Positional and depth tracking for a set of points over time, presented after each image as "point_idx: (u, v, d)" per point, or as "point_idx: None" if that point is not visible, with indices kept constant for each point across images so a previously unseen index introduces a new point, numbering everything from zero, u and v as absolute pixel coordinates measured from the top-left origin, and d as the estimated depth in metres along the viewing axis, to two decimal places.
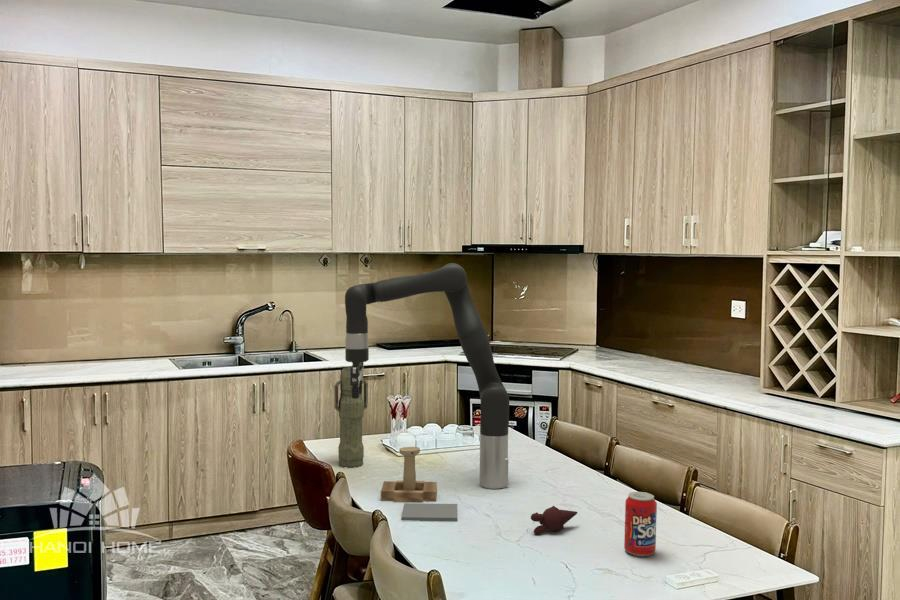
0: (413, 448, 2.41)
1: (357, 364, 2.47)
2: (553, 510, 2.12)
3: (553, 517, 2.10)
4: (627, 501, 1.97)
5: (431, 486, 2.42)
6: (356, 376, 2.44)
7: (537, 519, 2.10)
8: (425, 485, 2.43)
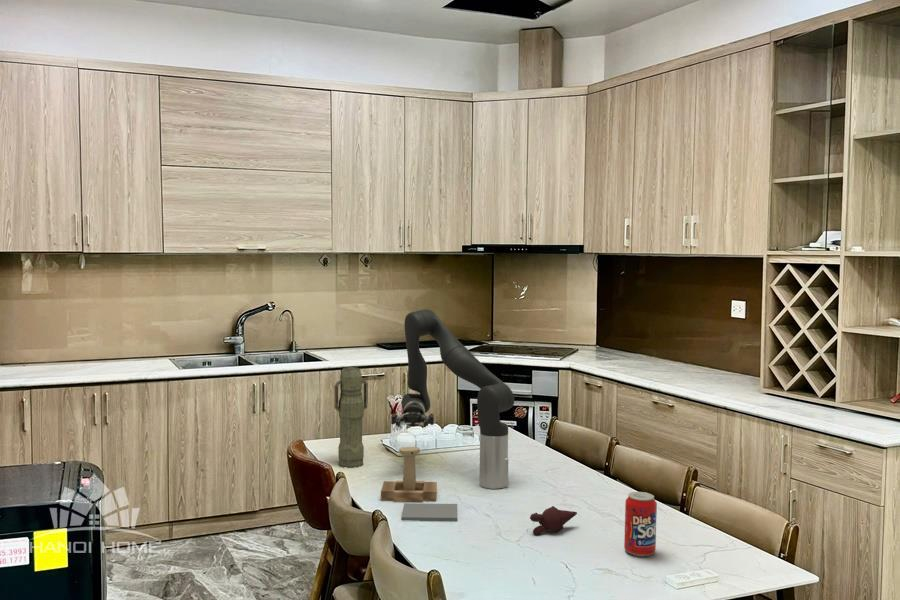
0: (413, 448, 2.41)
1: None
2: (552, 510, 2.12)
3: (552, 518, 2.10)
4: (627, 501, 1.97)
5: (431, 486, 2.42)
6: None
7: (536, 519, 2.10)
8: (425, 485, 2.43)
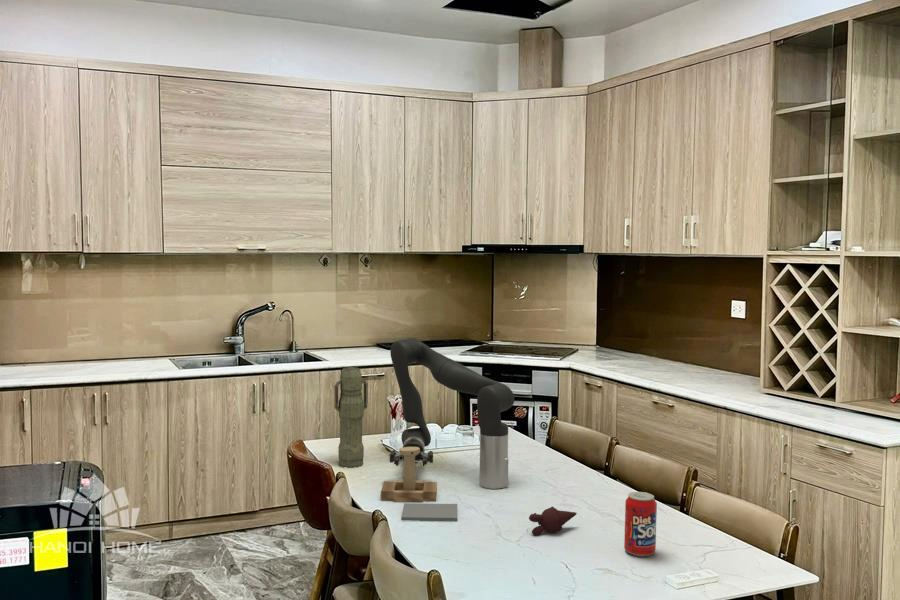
0: (413, 448, 2.41)
1: None
2: (552, 511, 2.11)
3: (551, 518, 2.10)
4: (627, 501, 1.97)
5: (431, 486, 2.42)
6: None
7: (535, 520, 2.10)
8: (425, 485, 2.43)
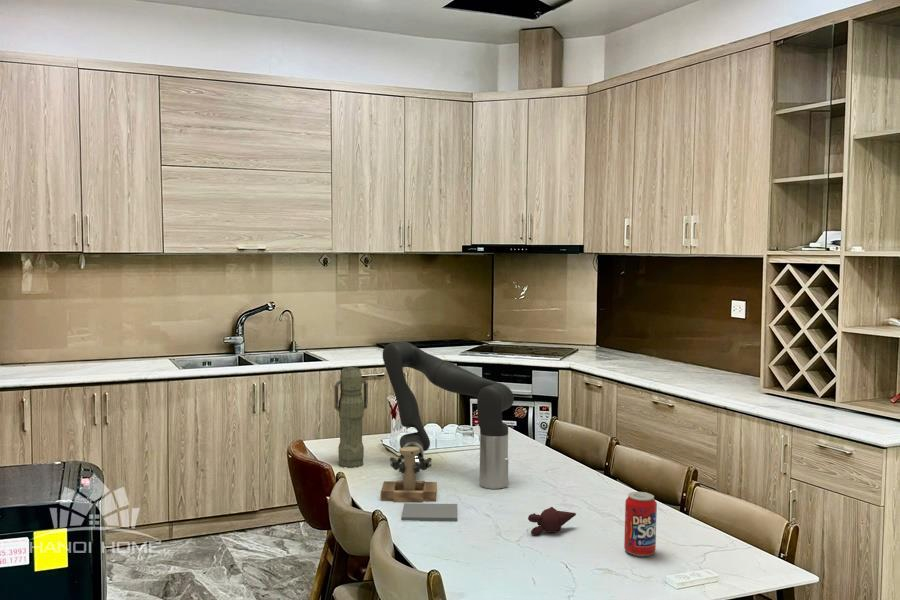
0: (413, 448, 2.41)
1: None
2: (551, 511, 2.11)
3: (550, 518, 2.09)
4: (627, 501, 1.97)
5: (431, 486, 2.42)
6: (392, 461, 2.45)
7: (534, 520, 2.09)
8: (425, 485, 2.43)
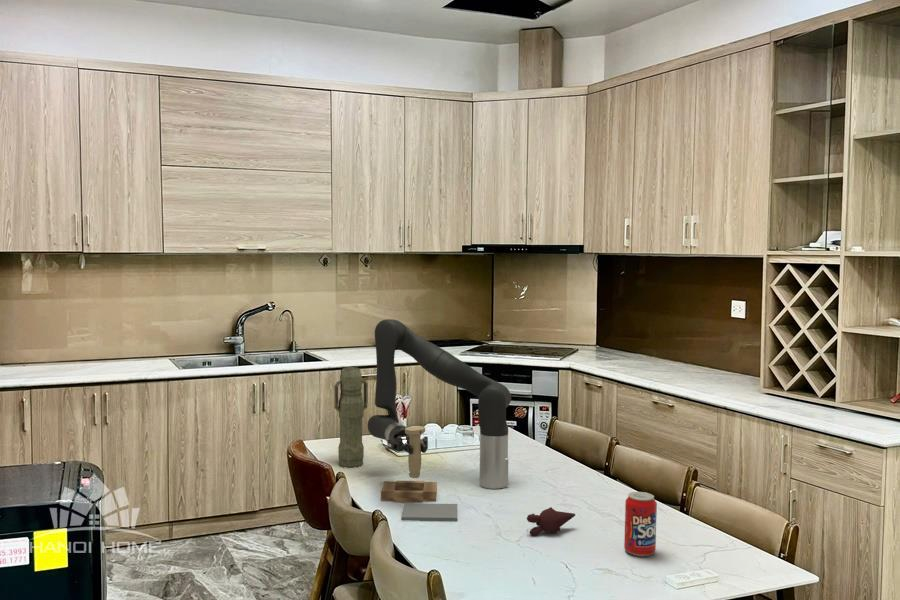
0: (418, 427, 2.33)
1: (393, 439, 2.39)
2: (550, 511, 2.11)
3: (549, 519, 2.09)
4: (627, 501, 1.97)
5: (431, 486, 2.42)
6: (392, 443, 2.34)
7: (533, 520, 2.09)
8: (425, 485, 2.43)
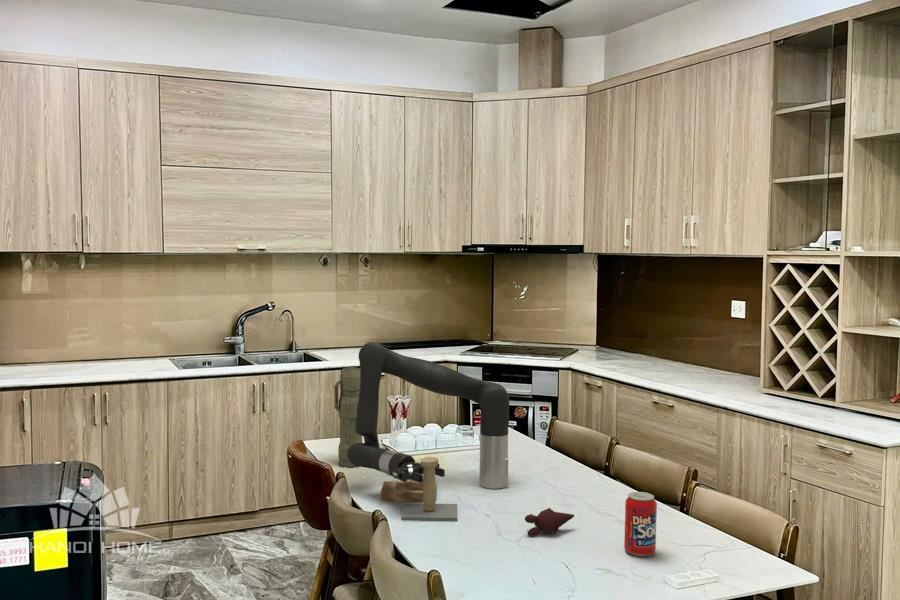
0: (430, 458, 2.26)
1: (399, 468, 2.29)
2: (548, 512, 2.10)
3: (547, 520, 2.09)
4: (627, 501, 1.97)
5: None
6: (398, 473, 2.25)
7: (531, 521, 2.09)
8: None
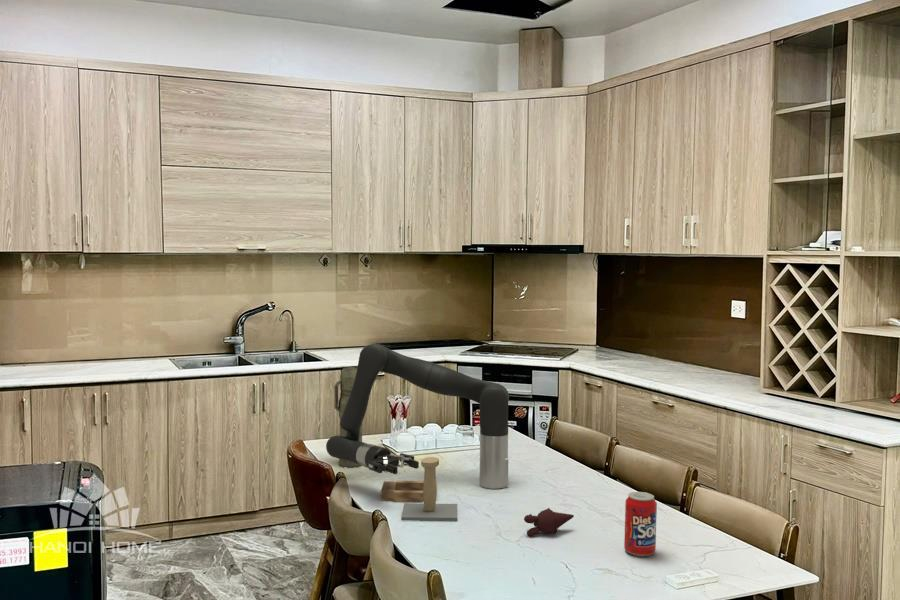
0: (431, 458, 2.26)
1: (375, 460, 2.37)
2: (547, 512, 2.10)
3: (546, 520, 2.08)
4: (627, 501, 1.97)
5: None
6: (373, 464, 2.33)
7: (530, 521, 2.09)
8: None
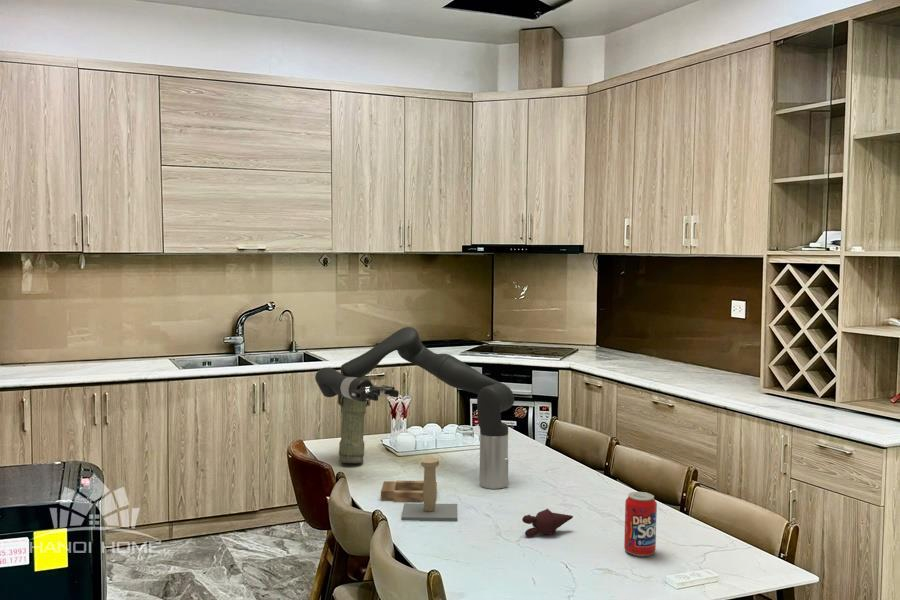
0: (431, 458, 2.26)
1: (357, 390, 2.54)
2: (546, 513, 2.09)
3: (545, 520, 2.08)
4: (627, 501, 1.97)
5: None
6: (356, 393, 2.49)
7: (528, 521, 2.08)
8: None
